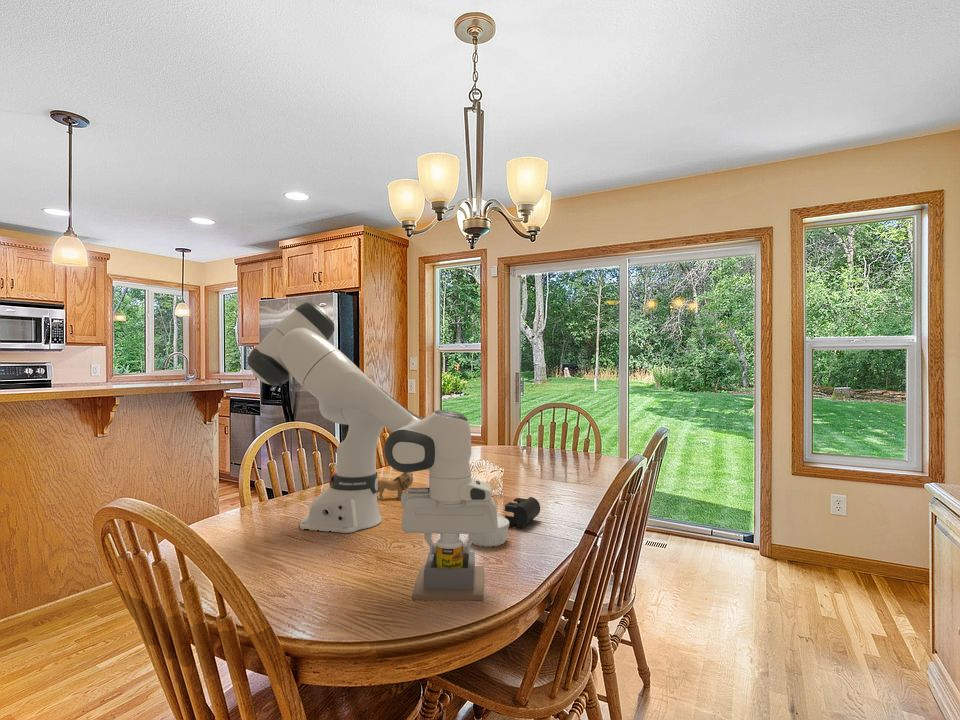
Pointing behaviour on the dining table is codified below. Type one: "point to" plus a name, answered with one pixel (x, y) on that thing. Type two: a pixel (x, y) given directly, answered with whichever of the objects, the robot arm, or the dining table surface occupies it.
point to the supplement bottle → (449, 551)
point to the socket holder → (450, 581)
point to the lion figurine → (395, 484)
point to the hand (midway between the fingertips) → (449, 553)
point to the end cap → (522, 511)
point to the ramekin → (494, 535)
